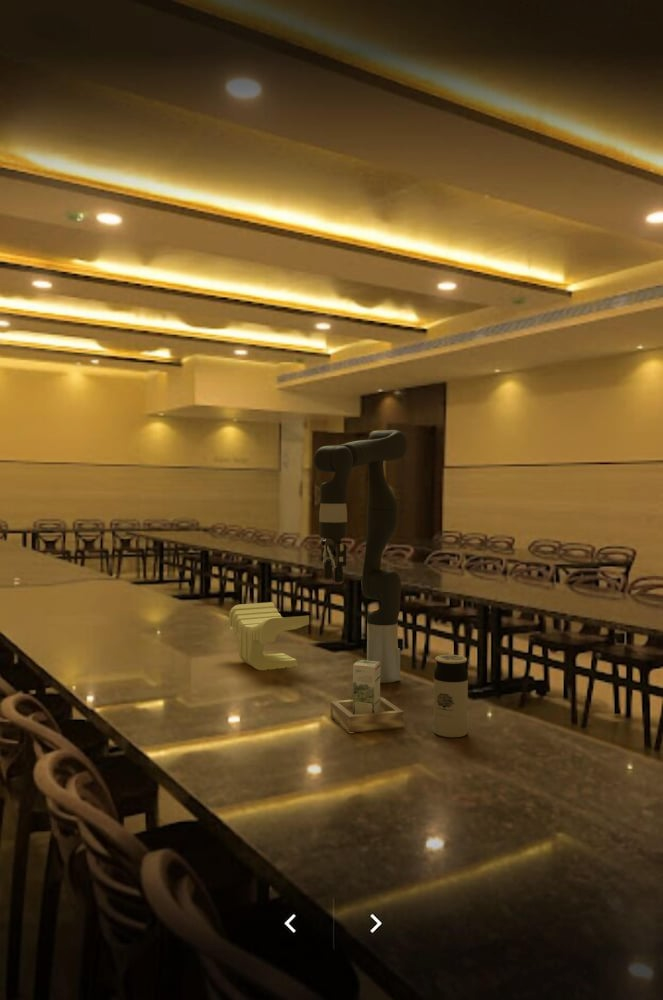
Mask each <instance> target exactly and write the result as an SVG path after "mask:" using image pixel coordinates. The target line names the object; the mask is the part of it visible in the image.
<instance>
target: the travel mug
mask: <svg viewBox="0 0 663 1000" xmlns="http://www.w3.org/2000/svg"><path fill="white" fill-rule="evenodd" d="M434 659H435V661H436V666H435V669H434V671H433V733H434V734H435V735H437V736H440V737H443V738H449V739H450V738H451V739H453V738H454V739H457V738H463V737H464V736H466V735H467V734H468V717H469V716H468V714H469V713H468V709H469V707H468V704H469V702H468V699H469V696H468V695H469V694H468V693H469V692H468V691H469V689H468V688H469V686H468V685H469V684H468V683H469V673H468V670H467V668H466V663H467V661H468V659H467V657H466V656H463V655H457V654H441V655H437V656H435V658H434Z"/></svg>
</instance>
